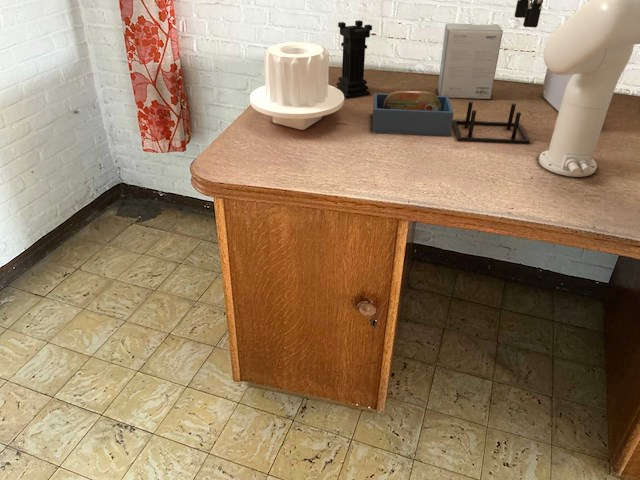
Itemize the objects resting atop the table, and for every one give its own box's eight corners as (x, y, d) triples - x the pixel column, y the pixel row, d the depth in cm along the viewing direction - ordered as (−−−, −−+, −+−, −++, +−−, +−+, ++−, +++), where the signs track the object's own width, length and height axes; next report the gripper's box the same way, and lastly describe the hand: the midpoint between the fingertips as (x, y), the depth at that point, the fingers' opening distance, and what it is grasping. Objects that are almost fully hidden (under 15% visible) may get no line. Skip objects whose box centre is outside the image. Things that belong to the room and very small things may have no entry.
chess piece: (334, 90, 168) (336, 22, 157) (357, 86, 171) (360, 19, 160) (346, 98, 162) (349, 28, 151) (369, 94, 165) (374, 26, 154)
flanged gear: (359, 114, 152) (363, 45, 141) (312, 147, 134) (313, 70, 123) (284, 98, 162) (282, 32, 151) (232, 126, 144) (226, 53, 133)
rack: (529, 144, 137) (535, 117, 133) (457, 140, 138) (462, 114, 134) (519, 125, 146) (524, 100, 142) (452, 122, 148) (456, 97, 144)
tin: (381, 123, 145) (384, 92, 140) (381, 118, 147) (384, 88, 143) (438, 125, 144) (443, 94, 139) (437, 121, 146) (442, 90, 142)
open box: (450, 136, 140) (453, 112, 137) (372, 132, 142) (373, 109, 138) (445, 118, 150) (448, 96, 147) (372, 115, 151) (374, 93, 148)
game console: (577, 130, 144) (599, 54, 133) (539, 95, 166) (556, 27, 155) (598, 130, 144) (623, 54, 133) (558, 94, 167) (576, 27, 155)
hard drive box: (487, 91, 169) (499, 24, 157) (490, 99, 162) (504, 30, 151) (436, 89, 170) (445, 22, 158) (438, 97, 164) (448, 28, 152)
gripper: (570, -53, 115) (550, 31, 125) (549, -62, 130) (532, 14, 139) (534, -53, 116) (517, 30, 126) (517, -62, 130) (502, 13, 140)
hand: (525, 22), depth 133 cm, fingers open, 9 cm apart
